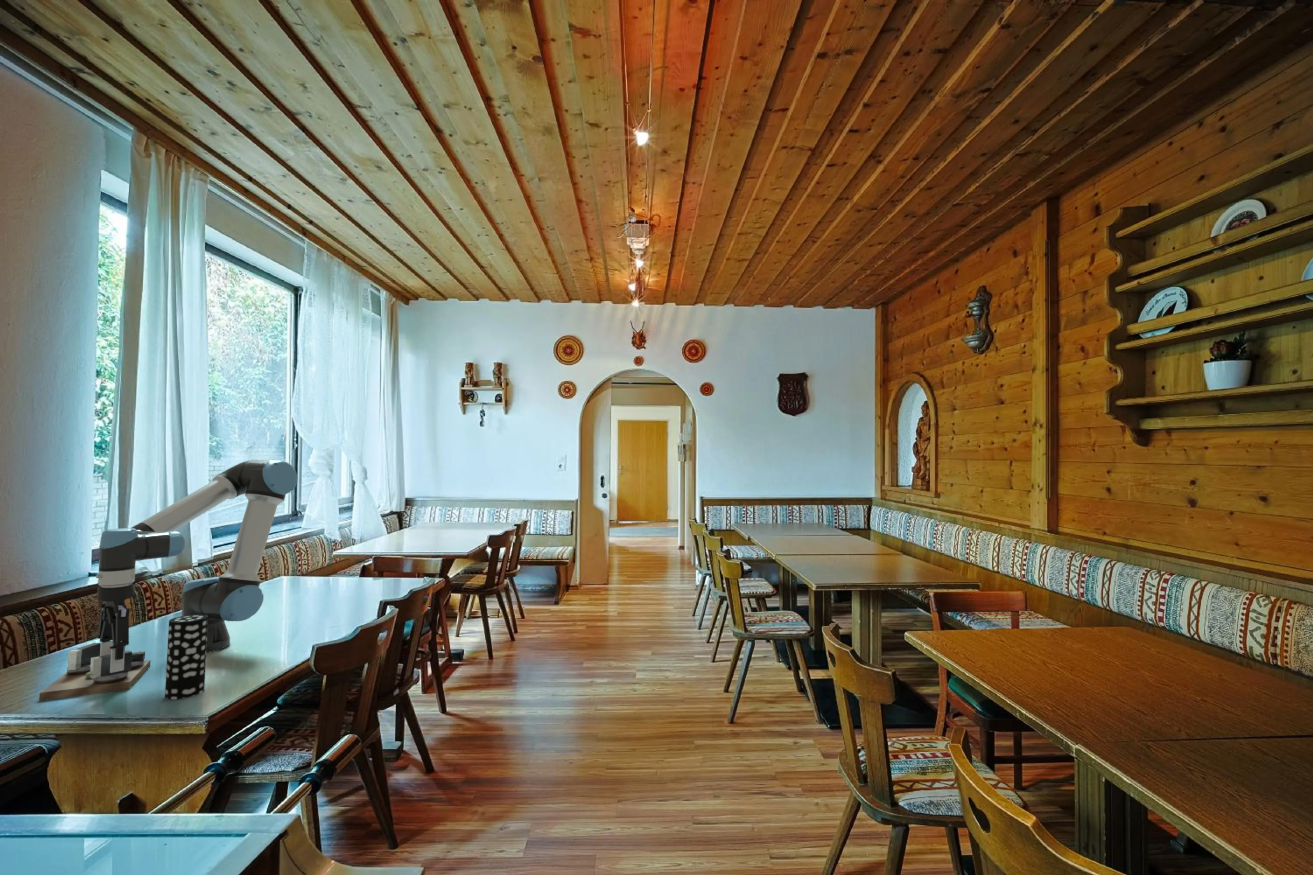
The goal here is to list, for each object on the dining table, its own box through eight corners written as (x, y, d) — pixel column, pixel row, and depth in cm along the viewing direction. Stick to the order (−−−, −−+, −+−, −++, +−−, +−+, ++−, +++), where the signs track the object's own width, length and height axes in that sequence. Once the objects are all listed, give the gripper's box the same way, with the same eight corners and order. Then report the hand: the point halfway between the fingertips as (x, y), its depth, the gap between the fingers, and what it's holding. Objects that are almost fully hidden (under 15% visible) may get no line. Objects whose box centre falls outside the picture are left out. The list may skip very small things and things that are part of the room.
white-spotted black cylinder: (179, 687, 163) (183, 614, 164) (211, 687, 164) (215, 614, 165) (156, 699, 155) (161, 622, 156) (190, 699, 156) (194, 622, 157)
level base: (150, 666, 180) (150, 655, 180) (129, 689, 162) (129, 677, 162) (70, 675, 171) (71, 664, 171) (39, 700, 154) (39, 687, 154)
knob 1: (83, 665, 173) (84, 642, 174) (108, 665, 174) (110, 642, 174) (57, 675, 165) (59, 651, 166) (84, 674, 166) (86, 651, 166)
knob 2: (124, 671, 168) (126, 648, 169) (134, 676, 165) (135, 653, 165) (86, 680, 162) (88, 656, 162) (95, 685, 158) (96, 661, 158)
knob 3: (147, 660, 178) (147, 648, 178) (140, 667, 172) (140, 655, 172) (116, 664, 175) (116, 651, 175) (107, 671, 169) (108, 658, 169)
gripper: (85, 582, 167) (80, 664, 166) (111, 591, 156) (106, 679, 155) (120, 578, 173) (115, 657, 172) (147, 586, 162) (142, 671, 161)
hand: (111, 668), depth 163 cm, fingers open, 8 cm apart
